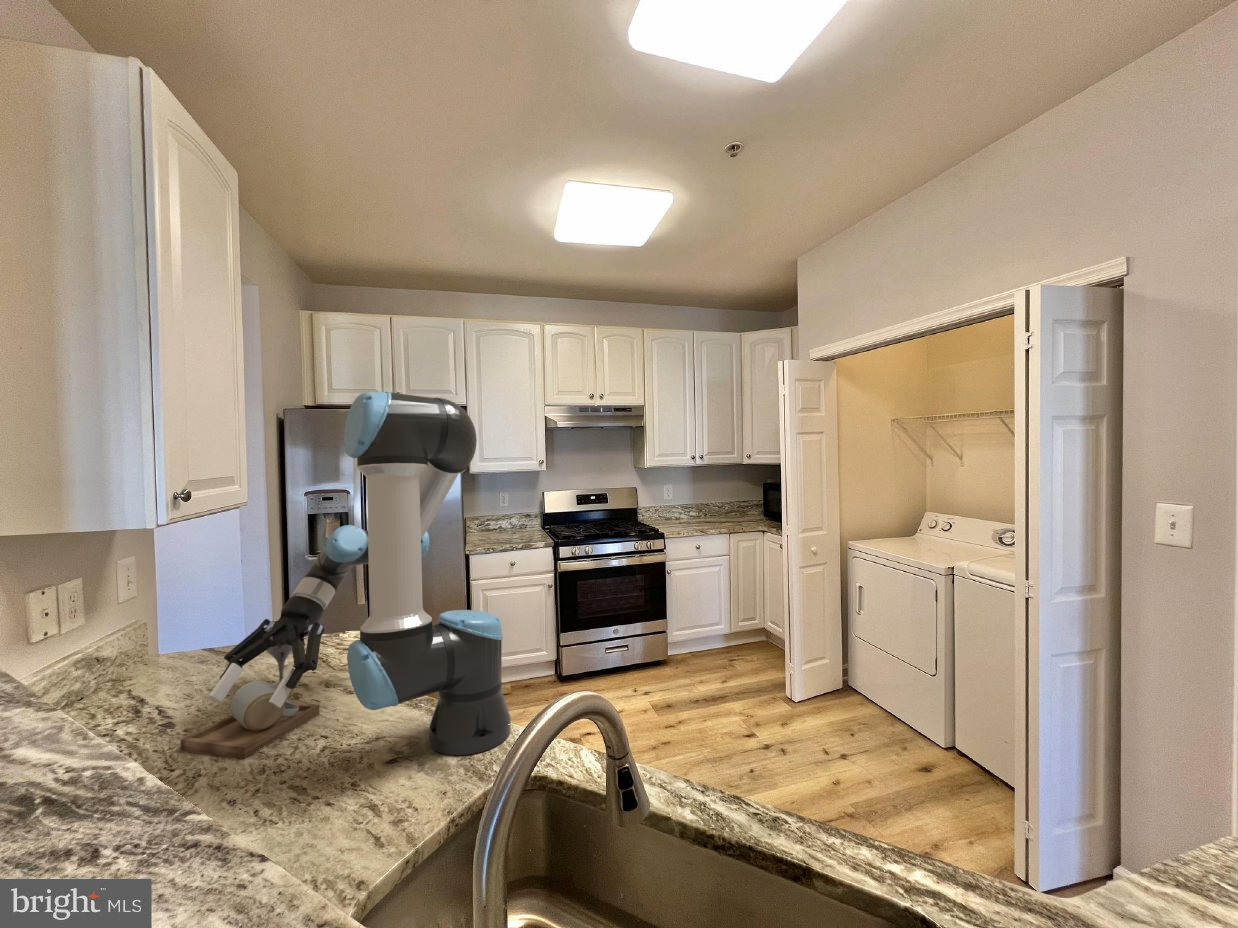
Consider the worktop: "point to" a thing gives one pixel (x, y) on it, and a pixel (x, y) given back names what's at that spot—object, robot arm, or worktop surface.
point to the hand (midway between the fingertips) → (244, 701)
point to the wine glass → (280, 658)
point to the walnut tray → (243, 734)
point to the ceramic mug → (259, 706)
